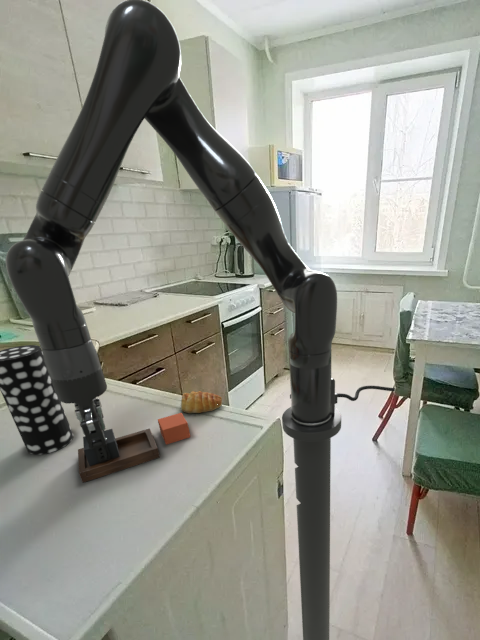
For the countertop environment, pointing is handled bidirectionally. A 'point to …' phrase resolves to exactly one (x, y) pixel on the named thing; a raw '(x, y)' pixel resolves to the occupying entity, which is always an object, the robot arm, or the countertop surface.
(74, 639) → the countertop surface
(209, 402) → the pastry
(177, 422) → the orange polygonal prism
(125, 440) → the brown wooden tray
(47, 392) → the white-spotted black cylinder
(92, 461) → the charcoal block
